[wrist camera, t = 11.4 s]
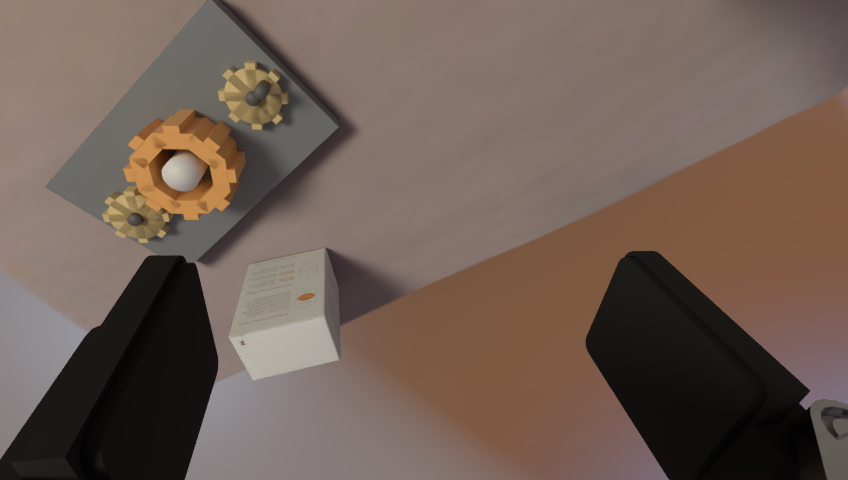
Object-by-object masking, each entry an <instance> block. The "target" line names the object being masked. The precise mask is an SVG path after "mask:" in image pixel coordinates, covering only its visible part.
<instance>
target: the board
mask: <svg viewBox="0 0 848 480" xmlns="http://www.w3.org/2000/svg"><path fill="white" fill-rule="evenodd" d="M180 109H181V110H195V115H196V117H202V118H208V119H209V120H210V121H212V122H213V123H214V124H215V125H217V124H218V123H219V121H220V120H221V121H222V122H223V123H224V124H226V125H227V126H228V127H229V128H230V129H232V130H231V132H230V133H229V136H230V137H231V138H232V139H234V140H235V141H236V147H237V151H244V152H245V159H246V163H245V166H244V168H243V170H242V172H241V174H240V177H239V179H238V181H240V182H239V184H238V186H237V189H236V191H235V193H234V195H233V198H232V200H231V202H230V204H229V205H228V206H227V207H226V208H225V209H224V210H223V211H220V210H219V209H217V208H216V207H215V208H214V209H213V210H212V211H211V212H210V213H209V214H208V213H202V215H201V217H200V219H199V220H185V219H184V215H183V214H172V213H170V212H169V211H167V210H166V209H164V208H163V207H162V208H161V209H160V210H159V211H158V212H157V211H156V210H154V209H152V208H151V207H149V206H148V205H146V204H145V202H146V201H147V200H148V199H149V198H147V197H146V196H144V195H143V194H141V193H140V192H139V191H138V188H137V184H136V182H127V180H126V177H125V173H124V170H123V168H124V167H125V166H126V165H127V164H128V163H130V161H129V157H130V156H131V155H132V154H133V153H134V152H135V150H134V149H133V148H131V147H130V146H128V144H129V143H130V142H131V141H132V140H133V138H134V137H135V136H136V135H137V134H138V133H140V132H141V131H142V130H143V129H144V128H146V127H147V126H148V125H149V124H150V123H152V122H153V121H154V120H155V119H156V118H158V119H159V120H160V121H162V122H164V121H165V120H167V119H168V118H169V117H170V116H173V115H175V114H176V113H177V112H178V111H179V110H180ZM338 127H339V120H338V119H337V118H336V117H335V116H334V115H333V114H332V113H331V112H330V111H329V110H328V109H327V108H326V107H325V106H324V105H323V104H322V103H321V102H320V101H319V100H318V99H317V98H316V97H315V96H314V95H313V94H312V92H311V91H310V90H309V89H308V88H307V87H306V86H305V85H304V84H303V83H302V82H301V81H300V80H299V79H298V78H297V77H296V76H295V75H294V74H293V73H292V72H291V71H290V70H289V69H288V68H287V67H286V66H285V65H284V64H283V63H282V62H281V61H280V60H279V59H278V58H277V57H276V56H275V55H274V54H273V53H272V52H271V51H270V50H269V49H268V48H267V47H266V46H265V45H264V44H263V43H262V42H261V41H260V40H259V39H258V38H257V37H256V36H255V35H254V34H253V33H252V32H251V31H250V30H249V29H248V28H247V27H246V26H245V25H244V24H243V23H242V22H241V21H240V20H239V19H238V18H237V17H236V16H235V15H234V14H233V13H232V12H231V11H230V10H229V9H228V8H227V7H226V6H225V5H224V4H223V3H222V2H221V1H220V0H207V1H206V2H205V3H204V5H203V6H202V7H201V8H200V9H199V10H198V11H197V13H196V14H195V15H194V16H193V17H192V18H191V19H190V21H189V22H188V23H187V24H186V25H185V26H184V27H183V29H182V30H181V31H180V32H179V33H178V34H177V36H176V37H175V38H174V39H173V40H172V41H171V42H170V44H169V45H168V46H167V47H166V48H165V49H164V50H163V52H162V53H161V54H160V55H159V56H158V57H157V59H156V60H155V61H154V62H153V63H152V64H151V65H150V67H149V68H148V69H147V70H146V71H145V72H144V73H143V75H142V76H141V77H140V78H139V79H138V80H137V82H136V83H135V84H134V85H133V86H132V87H131V88H130V90H129V91H128V92H127V93H126V94H125V95H124V96H123V98H122V99H121V100H120V101H119V102H118V103H117V104H116V106H115V107H114V108H113V109H112V110H111V111H110V113H109V114H108V115H107V116H106V117H105V118H104V119H103V121H102V122H101V123H100V124H99V125H98V126H97V127H96V129H95V130H94V131H93V132H92V133H91V134H90V136H89V137H88V138H87V139H86V140H85V141H84V142H83V144H82V145H81V146H80V147H79V148H78V149H77V150H76V152H75V153H74V154H73V155H72V156H71V157H70V158H69V160H68V161H67V162H66V163H65V164H64V165H63V167H62V168H61V169H60V170H59V171H58V172H57V173H56V175H55V176H54V177H53V178H52V179H51V180H50V181H49V183H48V184H47V185H46V186H45V187H46V188H47V189H49V190H51V191H52V192H54V193H56V194H57V195H59V196H61V197H62V198H64V199H66V200H67V201H69V202H71V203H72V204H74V205H76V206H77V207H79V208H81V209H82V210H84V211H86V212H87V213H89V214H91V215H92V216H94V217H96V218H97V219H99V220H101V221H102V222H104V223H106V224H107V225H109V226H111V227H112V228H114V229H116V230H117V231H116V233H115V234H117V235H118V236H120V237H122V238H124V237H125V236H127V237H129V238H131V239H132V240H134V241H136V242H137V243H139V244H141V245H142V246H144V247H146V248H147V249H149V250H151V251H152V252H154V253H156V254H157V255H182V256H184V258H185V259H186V261H187V263H195V262H196V261H197V260H198V259H199V258H200V257H201V256H202V255H203V254H204V253H205V252H206V251H208V250H209V249H210V248H211V247H212V246H213V245H214V244H215V243H216V242H217V241H218V240H219V239H220V238H221V237H222V236H224V235H225V234H226V233H227V232H228V231H229V230H230V229H231V228H232V227H233V226H234V225H235V224H236V223H237V222H238V221H239V220H241V219H242V218H243V217H244V216H245V215H246V214H247V213H248V212H249V211H250V210H251V209H252V208H253V207H254V206H255V205H256V204H258V203H259V202H260V201H261V200H262V199H263V198H264V197H265V196H266V195H267V194H268V193H269V192H270V191H271V190H272V189H274V188H275V187H276V186H277V185H278V184H279V183H280V182H281V181H282V180H283V179H284V178H285V177H286V176H287V175H288V174H289V173H291V172H292V171H293V170H294V169H295V168H296V167H297V166H298V165H299V164H300V163H301V162H302V161H303V160H304V159H305V158H307V157H308V156H309V155H310V154H311V153H312V152H313V151H314V150H315V149H316V148H317V147H318V146H319V145H320V144H321V143H322V142H324V141H325V140H326V139H327V138H328V137H329V136H330V135H331V134H332V133H333V132H334V131H335V130H336V129H337V128H338ZM168 152H169V156H170V160H169V161H168V162H167V163H166V164H165V165H164V167H163V169H162V177H163V180H164V181H165V183H166V184H167V185H168V186H170V187H171V188H173V189H175V190H178V191H190V190H192V189H194V188H195V187H196V186H197V185H198V183H199V181H200V180H201V179H212V175H211V170H210V165H208V164H207V163H206V162H204V161H203V160H202V159H201V158H199V157H198V156H197V155H195V154H194V153H193V152H191V151H190V150H188V149H168Z"/></svg>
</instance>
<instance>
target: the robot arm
mask: <svg viewBox="0 0 848 480" xmlns="http://www.w3.org/2000/svg"><path fill="white" fill-rule="evenodd" d="M586 348H587V351H588V353H589V354H590V356H591V357H592V359H593V360H594V362H595V364H596V365H597V367H598V368H599V370H600V372H601V373H602V375H603V376H604V378H605V380H606V381H607V383H608V384H609V386H610V387H611V389H612V391H613V392H614V394H615V395H616V397H617V398H618V400H619V401H620V403H621V405H622V406H623V408H624V410H625V411H626V413H627V414H628V416H629V417H630V419H631V420H632V422H633V424H634V425H635V427H636V428H637V430H638V431H639V433H640V435H641V436H642V438H643V439H644V441H645V442H646V444H647V446H648V447H649V449H650V450H651V452H652V453H653V455H654V457H655V458H656V460H657V461H658V463H659V465H660V466H661V468H662V469H663V471H664V472H665V474H666V475H667V477H668V478H669V480H848V404H844V403H841V402H838V401H834V400H826V399H823V400H818V401H815V402H814V403H813V404H812V405H811V406H810V407H809V408H808V409H807V410H805V409H804V408H803V407H802V406H801V405H800V404H799V403H800V401H801V400H802V399H803V398H804V397H805V396H806V395H807V394H808V393H809V392H810V390H809V389H808V388H807V387H806V386H804V385H803V384H802V383H801V382H800V381H799V380H798V379H797V378H796V377H795V376H793V375H792V374H791V373H790V372H789V371H788V370H787V369H786V368H785V367H784V366H782V365H781V364H780V363H779V362H778V361H777V360H776V359H775V358H774V357H773V356H772V355H770V354H769V353H768V352H767V351H766V350H765V349H764V348H763V347H762V346H761V345H759V344H758V343H757V342H756V341H755V340H754V339H753V338H752V337H751V336H750V335H748V334H747V333H746V332H745V331H744V330H743V329H742V328H741V327H740V326H738V325H737V324H736V323H735V322H734V321H733V320H732V319H731V318H730V317H729V316H728V315H726V314H725V313H724V312H723V311H722V310H721V309H720V308H719V307H718V306H716V305H715V304H714V303H713V302H712V301H711V300H710V299H709V298H708V297H707V296H706V295H704V294H703V293H702V292H701V291H700V290H699V289H698V288H697V287H695V285H693V284H692V283H691V282H690V281H689V280H688V279H687V278H686V277H685V276H683V275H682V274H681V273H680V272H679V271H678V270H677V269H676V268H675V267H674V266H672V265H671V264H670V263H669V262H668V261H667V260H666V259H665V258H664V257H663V256H662V255H660V254H659V253H657V252H655V251H632V252H629V253H628V254H626V256H625V257H624V258H622V259H621V260H620V261H619V263H618V265H617V267H616V270H615V272H614V274H613V277H612V279H611V281H610V284H609V286H608V288H607V291H606V293H605V295H604V298H603V300H602V302H601V304H600V307H599V309H598V312H597V314H596V316H595V318H594V321H593V323H592V325H591V328H590V330H589V332H588V335H587V338H586ZM217 371H218V355H217V351H216V347H215V343H214V338H213V334H212V330H211V325H210V321H209V317H208V313H207V308H206V304H205V300H204V296H203V291H202V287H201V283H200V278H199V274H198V270H197V267H196V265H195V263H187V261H186V259H185V258H184V256H182V255H154V256H148V257H147V258H146V259H145V260H144V261H143V263H142V264H141V266H140V267H139V269H138V270H137V272H136V273H135V275H134V276H133V278H132V279H131V281H130V282H129V284H128V285H127V287H126V288H125V290H124V291H123V293H122V294H121V296H120V297H119V299H118V300H117V302H116V303H115V305H114V306H113V308H112V309H111V311H110V312H109V314H108V315H107V317H106V318H105V320H104V321H103V323H102V324H101V326H97V327H95V328H93V329H92V330H91V331H90V332H89V333H88V334H87V335H86V336H85V338H84V339H83V341H82V342H81V343H80V345H79V346H78V348H77V349H76V351H75V352H74V353H73V355H72V357H71V358H70V359H69V361H68V362H67V364H66V365H65V367H64V368H63V369H62V371H61V372H60V374H59V375H58V377H57V378H56V380H55V381H54V382H53V384H52V386H51V387H50V388H49V390H48V391H47V393H46V394H45V396H44V397H43V399H42V400H41V401H40V403H39V404H38V406H37V407H36V409H35V410H34V412H33V413H32V414H31V416H30V417H29V419H28V420H27V422H26V423H25V425H24V426H23V427H22V429H21V430H20V432H19V433H18V435H17V436H16V438H15V439H14V441H13V442H12V443H11V445H10V446H9V448H8V449H7V451H6V452H5V454H4V455H3V456H2V458H1V459H0V480H185V477H186V473H187V470H188V467H189V464H190V461H191V457H192V454H193V451H194V447H195V444H196V441H197V437H198V434H199V431H200V428H201V425H202V421H203V418H204V414H205V411H206V408H207V405H208V402H209V398H210V395H211V392H212V388H213V385H214V382H215V379H216V375H217Z"/></svg>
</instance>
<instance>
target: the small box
mask: <svg viewBox="0 0 848 480" xmlns="http://www.w3.org/2000/svg"><path fill="white" fill-rule="evenodd" d="M229 338H230V340H231V342H232V344H233V345H234V347H235V349H236V351H237V353H238V354H239V356H240V358H241V360H242V362H243V363H244V365H245V367H246V369H247V371H248V372H249V374H250V376H251V377H252V379H253V380H258V379H262V378H266V377H271V376H275V375H279V374H283V373H287V372H291V371H295V370H299V369H303V368H308V367H312V366H316V365H320V364H324V363H328V362H333V361H337V360H340V358H341V350H340V315H339V288H338V284H337V281H336V278H335V274H334V271H333V268H332V265H331V262H330V259H329V256H328V253H327V250H326V248H323V249H318V250H314V251H309V252H304V253H300V254H295V255H291V256H286V257H281V258H277V259H272V260H268V261H263V262H258V263H254V264H250V265H249V266H248V269H247V273H246V277H245V280H244V284H243V288H242V291H241V295H240V299H239V302H238V306H237V309H236V313H235V316H234V320H233V324H232V327H231V331H230V334H229Z"/></svg>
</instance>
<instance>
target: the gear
mask: <svg viewBox="0 0 848 480" xmlns="http://www.w3.org/2000/svg"><path fill="white" fill-rule="evenodd" d="M231 130H232V129H230V128H229V127H228V126H227V125H226V124H224V123H223V122H222V121H221V120H220V121H219V123H218V124H217V125H215V124H214V123H213V122H212V121H210V120H209V119H208V118H202V117H196V115H195V110H181V109H180V110H179V111H178V112H177V113H176V114H175V115H173V116H170V117H169V118H168V119H167V120H165V121H164V122H162V121H160V120H159V119H158V118H156V119H155V120H154V121H153V122H152V123H150V124H149V125H148V126H147V127H146V128H144V129H143V130H142V131H141V132H140V133H138V134H137V135H136V136H135V137H134V138H133V140H132V141H131V142H130V143H129V144H128V146H130V147H131V148H133V149H134V150H135V152H134V153H133V154H132V155H131V156H130V157H129V161H130V163H128V164H127V165H126V166H125V167H124V168H123V170H124V173H125V177H126V180H127V182H136V184H137V188H138V191H139V192H140V193H141V194H143V195H144V196H146V197H147V198H149V199H148V200H147V201H146V202H145V204H146V205H148V206H149V207H151V208H152V209H154V210H156V211H157V212H158V211H159V210H160V209H161V208H162V207H163V208H164V209H166V210H167V211H169V212H170V213H172V214H183V215H184V219H185V220H199V219H200V217H201V215H202V213H208V214H209V213H210V212H211V211H212V210H213V209H214V208H215V207H216V208H217V209H219V210H220V211H223V210H224V209H225V208H226V207H227V206H228V205H229V204H230V202H231V200H232V198H233V195H234V193H235V191H236V189H237V186H238V184H239V182H240V181H238V179H239V177H240V174H241V172H242V170H243V168H244V166H245V163H246V159H245V152H244V151H237V147H236V141H235V140H234V139H232V138H231V137H230V136H229V133H230V132H231ZM168 149H188V150H190V151H191V152H193V153H194V154H195V155H197V156H198V157H199V158H201V159H202V160H203V161H204V162H206V163H207V164H208V165H210V170H211V175H212V179H201V180H200V181H199V183H198V185H197V186H196V187H195V188H194V189H192V190H190V191H178V190H175V189H173V188H171V187H170V186H168V185H167V184H166V183H165V181H164V180H163V177H162V169H163V167H164V165H165V164H166V163H167V162H168V161H169V160H170V156H169V152H168Z"/></svg>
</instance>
